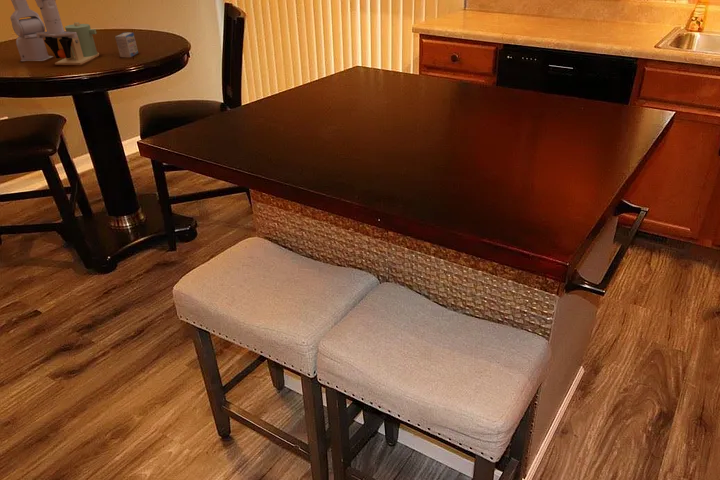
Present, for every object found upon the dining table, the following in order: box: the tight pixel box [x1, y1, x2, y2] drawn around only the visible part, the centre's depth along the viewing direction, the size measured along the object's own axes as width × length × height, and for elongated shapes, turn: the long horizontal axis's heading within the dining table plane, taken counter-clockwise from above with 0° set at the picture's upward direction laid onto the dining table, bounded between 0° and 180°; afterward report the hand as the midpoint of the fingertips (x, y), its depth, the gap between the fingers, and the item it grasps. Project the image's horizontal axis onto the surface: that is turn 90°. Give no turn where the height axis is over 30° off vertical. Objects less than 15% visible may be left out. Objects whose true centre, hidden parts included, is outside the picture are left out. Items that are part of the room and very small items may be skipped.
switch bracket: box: [54, 35, 96, 66], centre depth 225 cm, size 12×10×10 cm
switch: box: [57, 44, 72, 59], centre depth 221 cm, size 11×3×3 cm, turn 179°
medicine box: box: [114, 31, 139, 58], centre depth 234 cm, size 8×4×9 cm, turn 179°
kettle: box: [64, 21, 100, 58], centre depth 232 cm, size 12×11×13 cm
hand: (63, 57), depth 220 cm, fingers closed on switch, 3 cm apart
